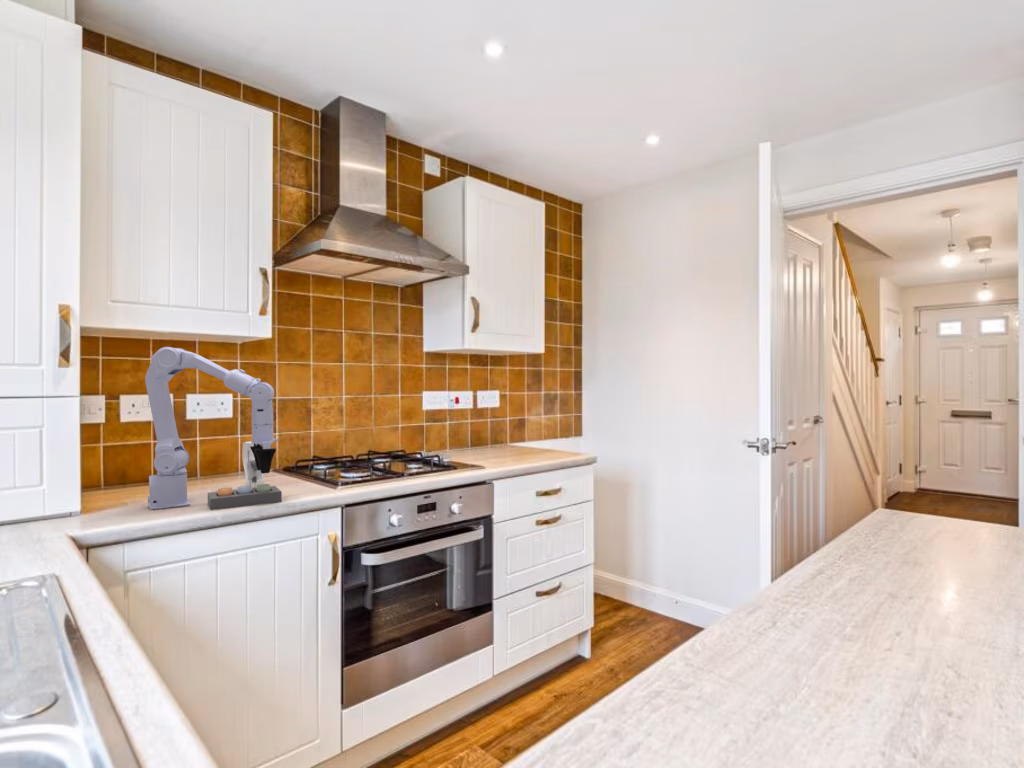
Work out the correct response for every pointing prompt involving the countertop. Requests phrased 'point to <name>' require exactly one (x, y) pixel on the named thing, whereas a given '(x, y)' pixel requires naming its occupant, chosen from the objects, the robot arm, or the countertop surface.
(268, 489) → the green button
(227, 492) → the orange button
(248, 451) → the beer glass
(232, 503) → the button panel
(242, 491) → the blue button
